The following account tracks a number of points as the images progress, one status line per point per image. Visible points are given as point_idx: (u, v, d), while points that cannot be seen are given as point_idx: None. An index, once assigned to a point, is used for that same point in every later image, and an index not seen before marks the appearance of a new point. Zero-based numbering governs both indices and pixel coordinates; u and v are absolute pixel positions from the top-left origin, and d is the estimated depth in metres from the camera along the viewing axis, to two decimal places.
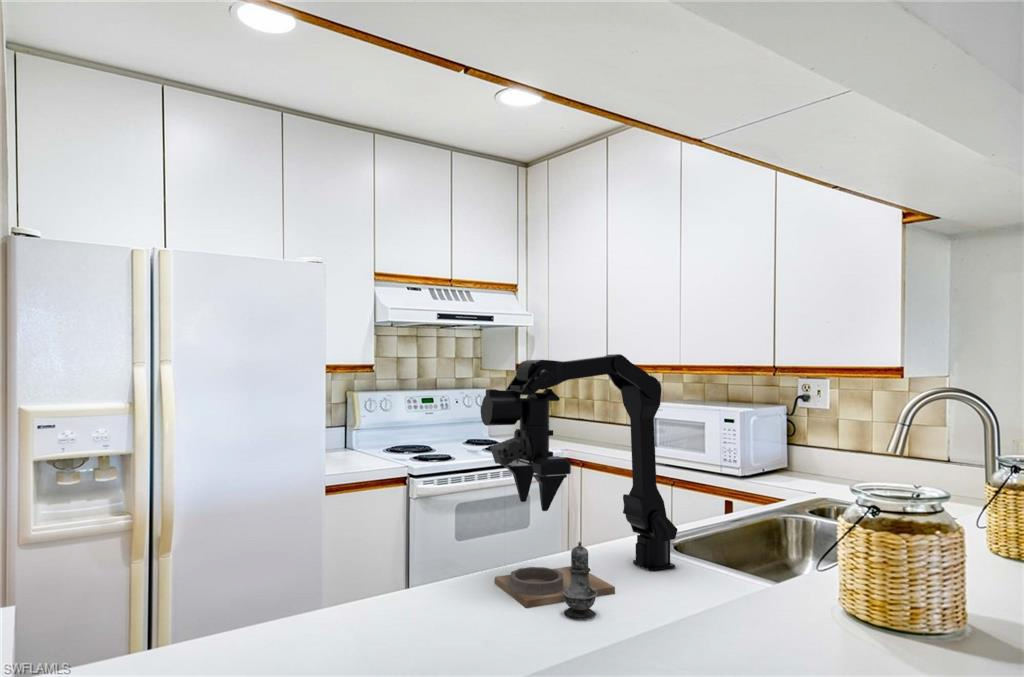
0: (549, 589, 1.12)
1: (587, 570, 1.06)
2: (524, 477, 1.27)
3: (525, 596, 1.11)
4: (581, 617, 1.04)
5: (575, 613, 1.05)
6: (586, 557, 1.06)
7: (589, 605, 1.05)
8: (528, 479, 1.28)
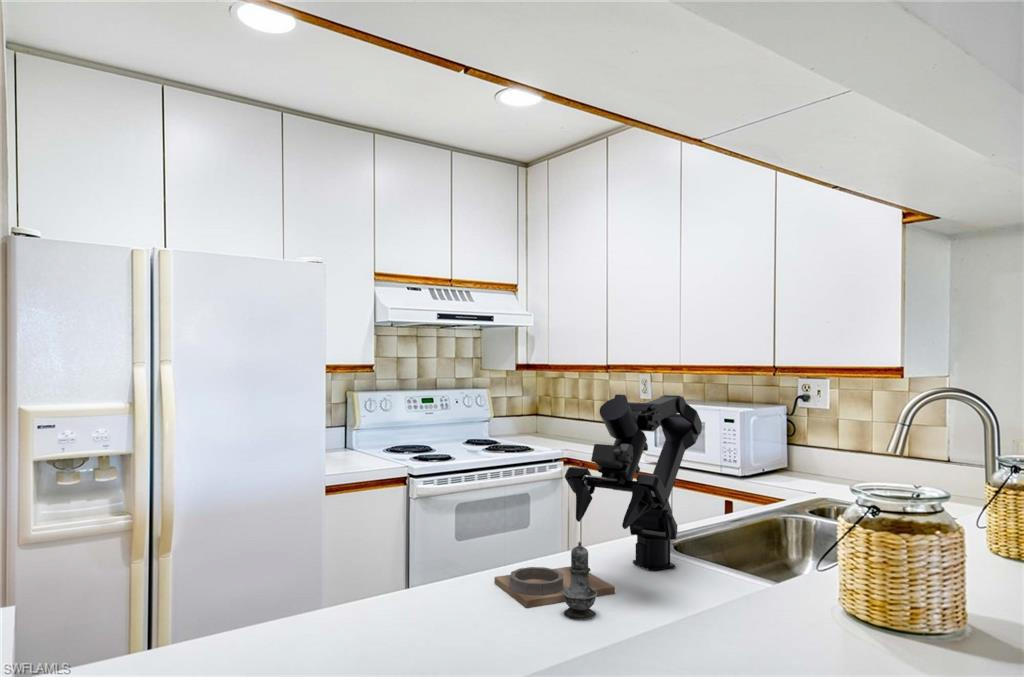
0: (549, 589, 1.12)
1: (587, 570, 1.06)
2: (585, 499, 1.20)
3: (525, 596, 1.11)
4: (581, 617, 1.04)
5: (575, 613, 1.05)
6: (586, 557, 1.06)
7: (589, 605, 1.05)
8: (586, 504, 1.20)
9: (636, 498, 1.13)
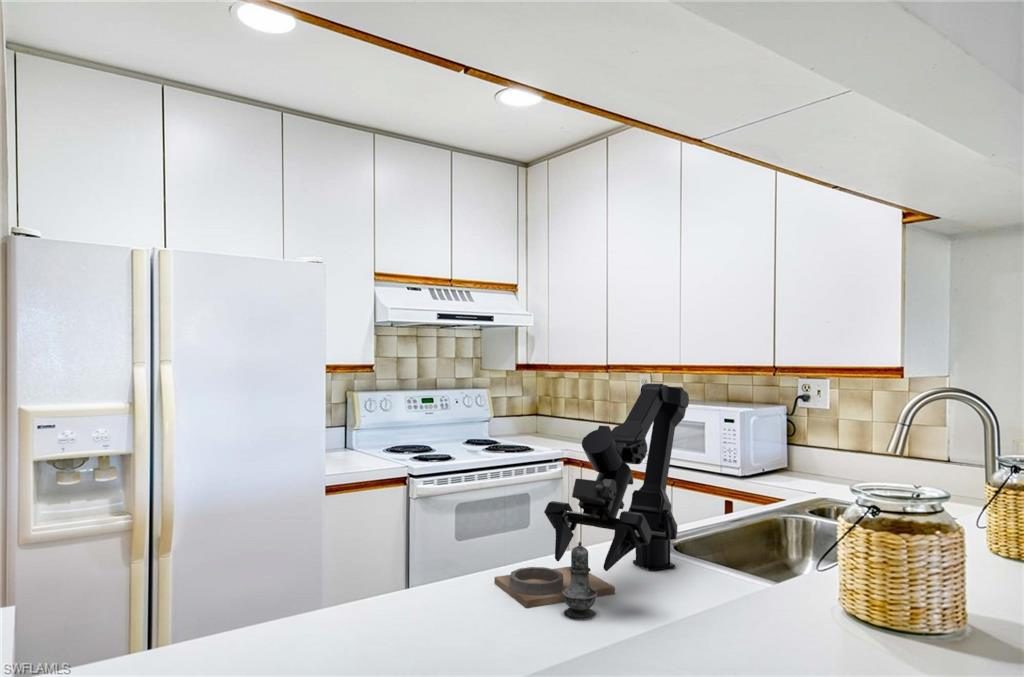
0: (549, 589, 1.12)
1: (587, 570, 1.06)
2: (565, 537, 1.13)
3: (525, 596, 1.11)
4: (581, 617, 1.04)
5: (575, 613, 1.05)
6: (586, 557, 1.06)
7: (589, 605, 1.05)
8: (566, 542, 1.13)
9: (619, 538, 1.06)
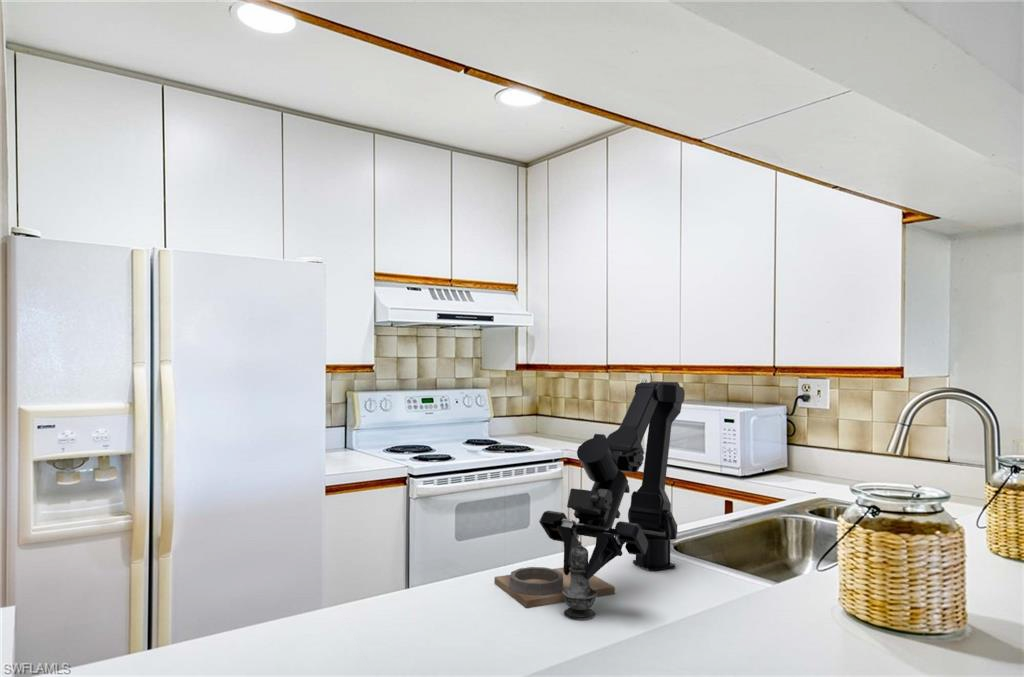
0: (549, 589, 1.12)
1: None
2: None
3: (525, 596, 1.11)
4: (581, 617, 1.04)
5: (575, 613, 1.05)
6: (586, 557, 1.06)
7: (589, 605, 1.05)
8: None
9: (600, 546, 1.06)
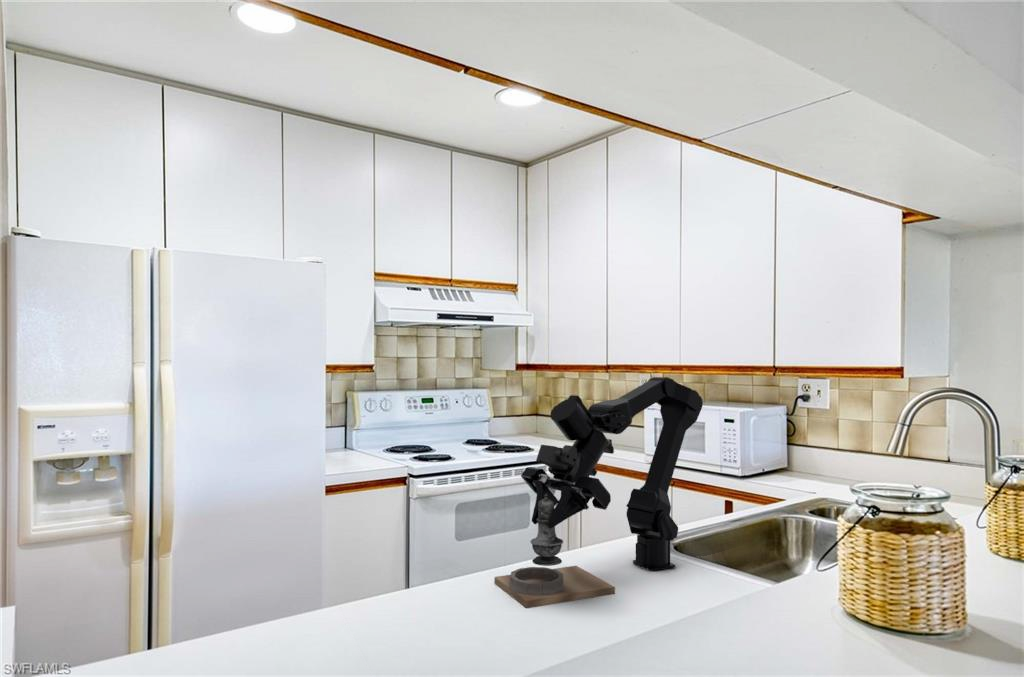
0: (549, 589, 1.12)
1: None
2: None
3: (525, 596, 1.11)
4: (544, 563, 1.12)
5: (541, 560, 1.13)
6: (550, 508, 1.13)
7: (552, 552, 1.12)
8: None
9: (563, 498, 1.13)
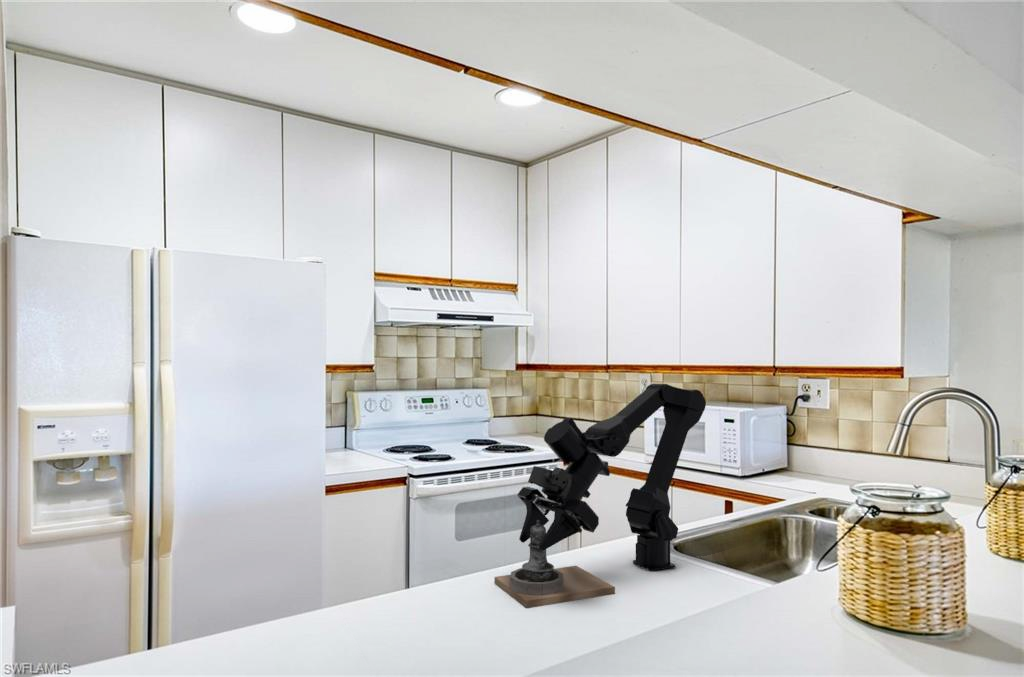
0: (549, 589, 1.12)
1: None
2: (535, 521, 1.21)
3: (525, 596, 1.11)
4: None
5: None
6: (541, 535, 1.16)
7: (541, 578, 1.14)
8: None
9: (556, 521, 1.14)
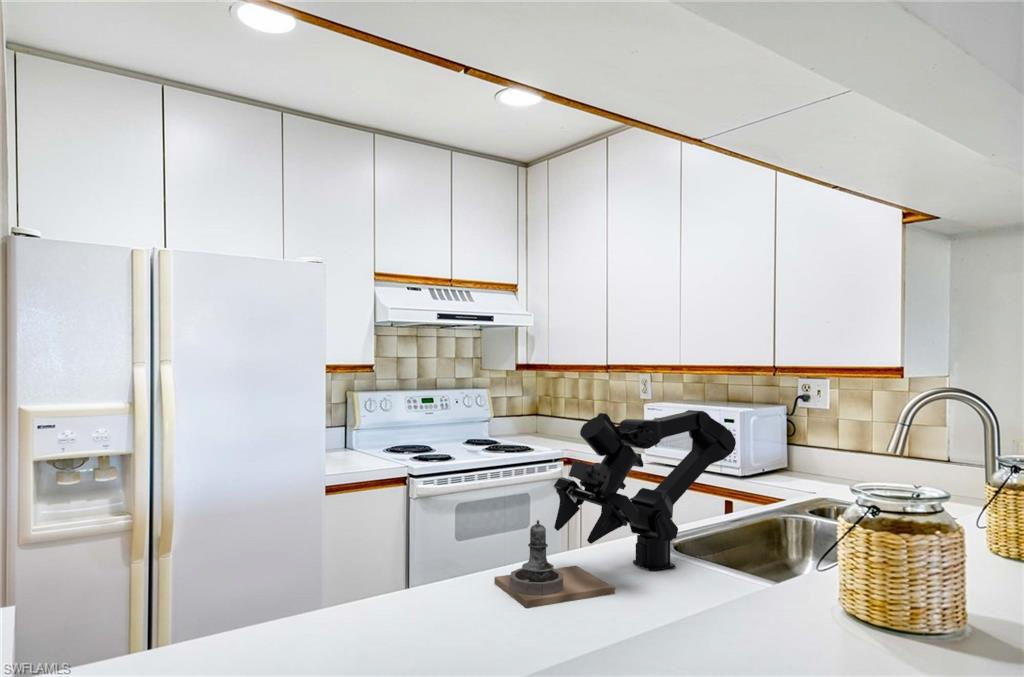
0: (549, 589, 1.12)
1: (542, 546, 1.16)
2: (568, 510, 1.28)
3: (525, 596, 1.11)
4: None
5: None
6: (541, 534, 1.16)
7: (541, 578, 1.14)
8: (569, 515, 1.28)
9: (604, 516, 1.19)
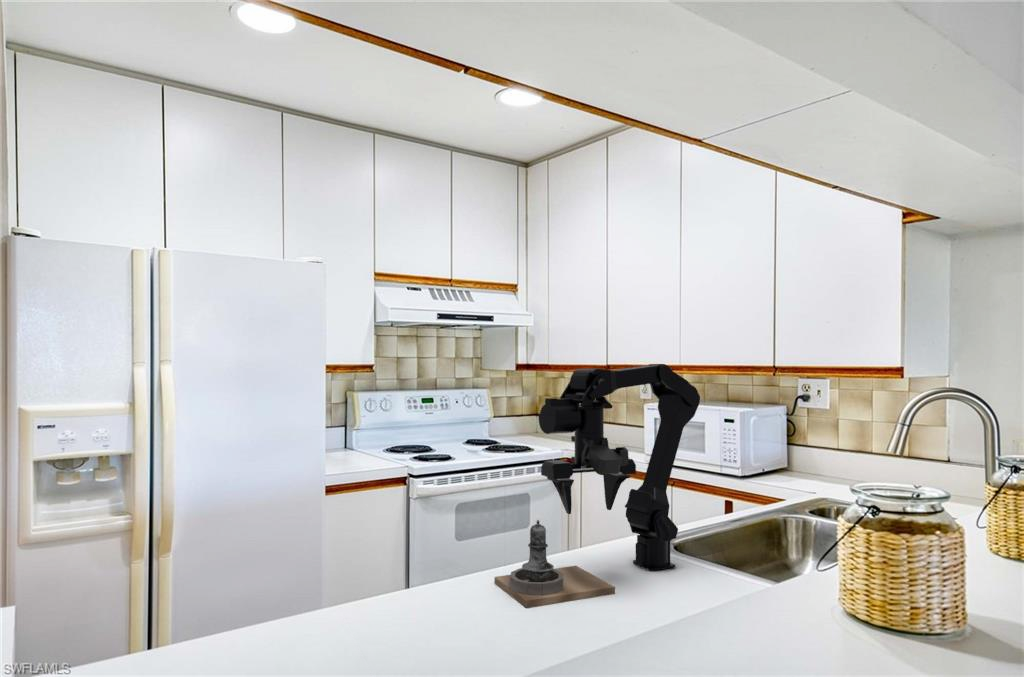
0: (549, 589, 1.12)
1: (542, 546, 1.16)
2: None
3: (525, 596, 1.11)
4: None
5: None
6: (541, 535, 1.16)
7: (541, 578, 1.14)
8: None
9: (618, 484, 1.27)
